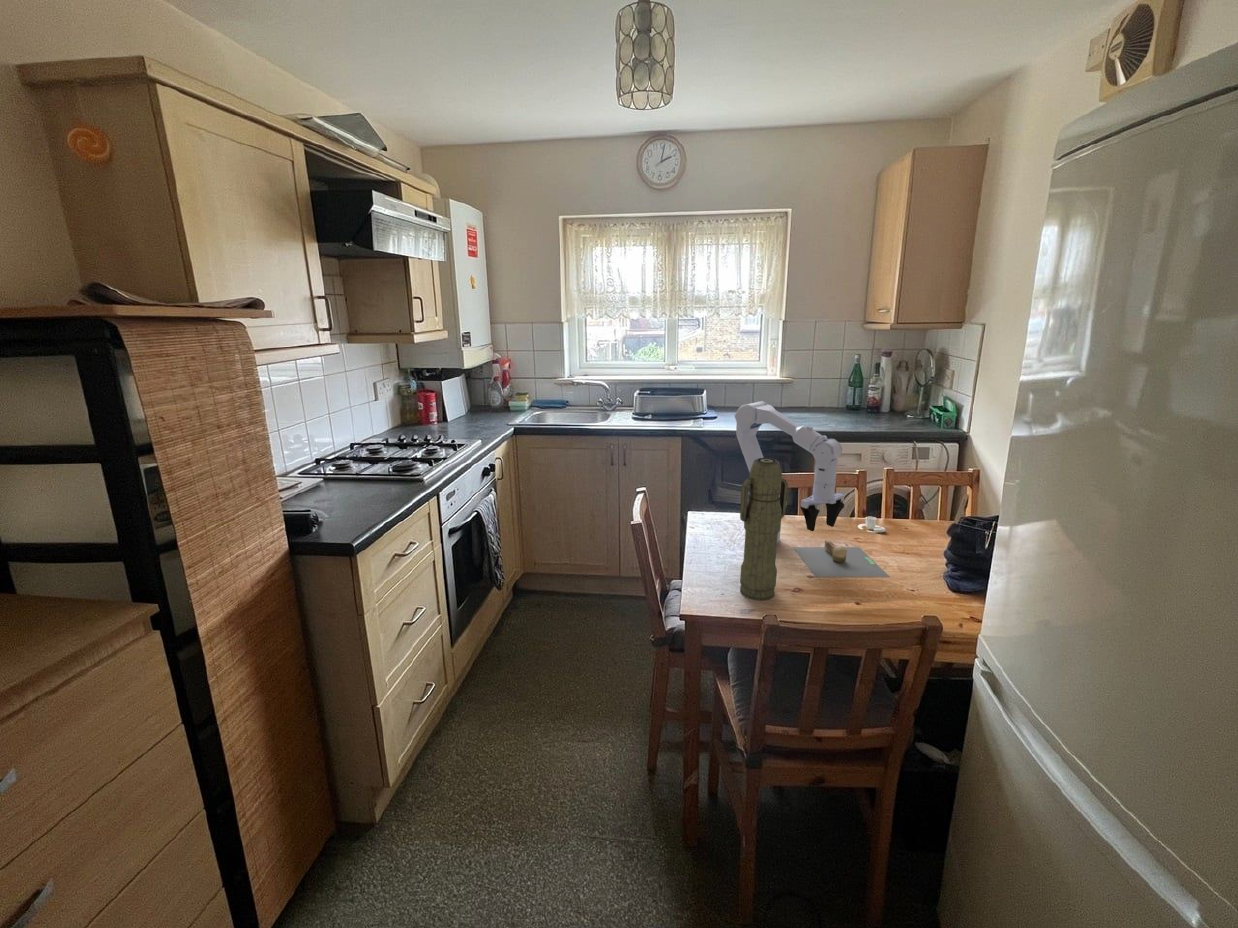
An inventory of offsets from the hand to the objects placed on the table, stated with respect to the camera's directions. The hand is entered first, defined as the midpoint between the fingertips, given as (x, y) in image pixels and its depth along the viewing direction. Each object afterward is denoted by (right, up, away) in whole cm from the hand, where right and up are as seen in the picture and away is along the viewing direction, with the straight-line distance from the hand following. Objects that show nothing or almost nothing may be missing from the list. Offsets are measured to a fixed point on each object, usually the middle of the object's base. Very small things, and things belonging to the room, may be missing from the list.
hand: (820, 527), depth 164 cm
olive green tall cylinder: (-22, -15, -18) cm, 32 cm away
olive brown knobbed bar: (+4, -8, +1) cm, 9 cm away
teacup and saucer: (+24, -4, +23) cm, 34 cm away
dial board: (+4, -10, -2) cm, 11 cm away
